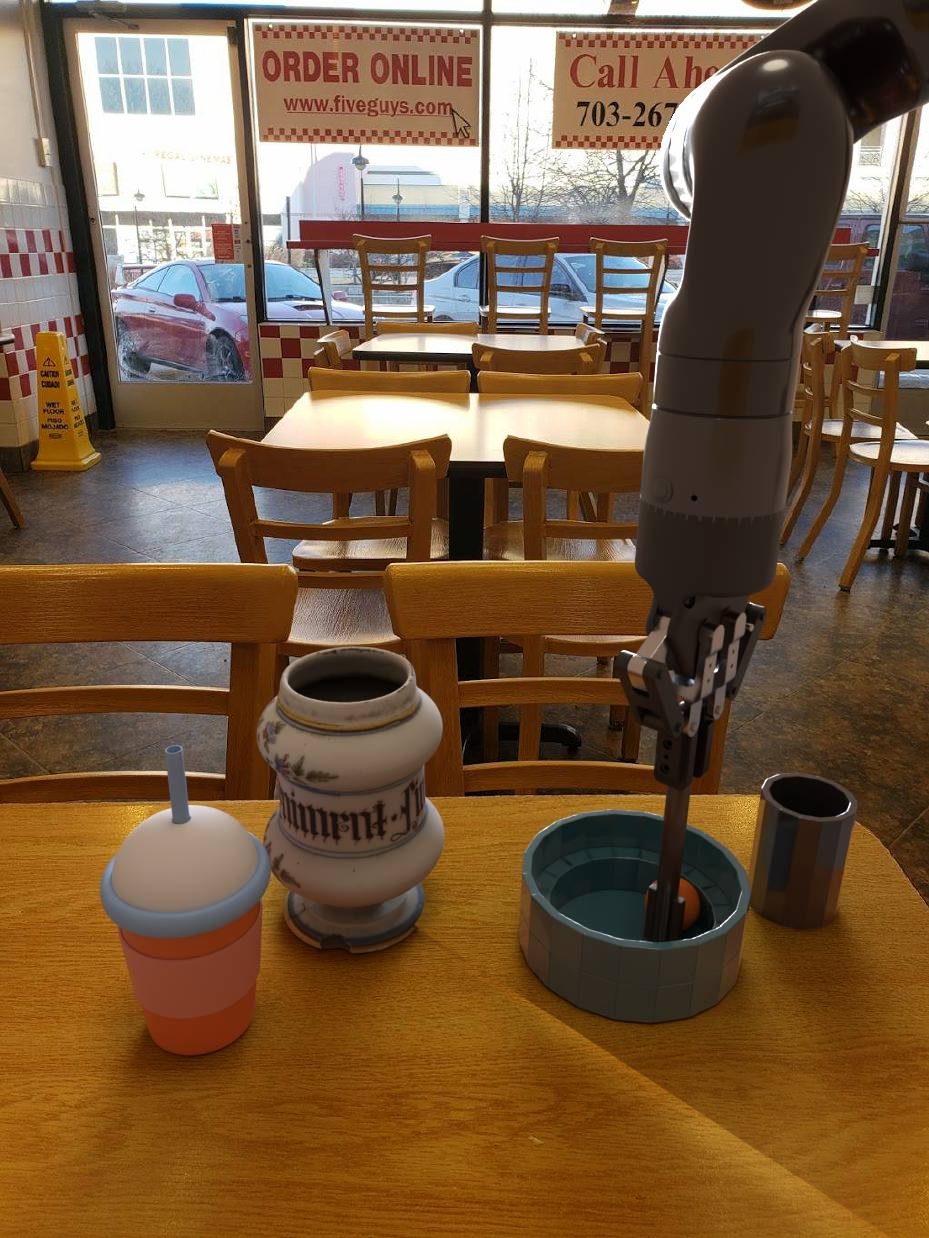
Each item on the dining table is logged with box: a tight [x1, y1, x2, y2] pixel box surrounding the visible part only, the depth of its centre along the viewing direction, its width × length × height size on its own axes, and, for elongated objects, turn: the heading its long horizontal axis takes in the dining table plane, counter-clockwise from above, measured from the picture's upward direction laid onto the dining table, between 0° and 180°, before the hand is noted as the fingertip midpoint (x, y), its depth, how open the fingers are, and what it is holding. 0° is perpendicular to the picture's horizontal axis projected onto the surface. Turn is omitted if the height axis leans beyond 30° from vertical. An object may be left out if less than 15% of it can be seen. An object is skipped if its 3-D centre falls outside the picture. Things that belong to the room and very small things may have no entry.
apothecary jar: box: [256, 646, 445, 955], centre depth 62 cm, size 12×12×18 cm
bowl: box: [518, 808, 751, 1024], centre depth 61 cm, size 14×14×6 cm
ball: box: [645, 878, 700, 931], centre depth 62 cm, size 4×4×4 cm
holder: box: [747, 772, 859, 931], centre depth 64 cm, size 6×6×9 cm
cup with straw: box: [99, 744, 272, 1056], centre depth 52 cm, size 9×9×18 cm
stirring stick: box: [644, 701, 698, 943], centre depth 58 cm, size 1×2×17 cm, turn 48°
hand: (680, 776), depth 56 cm, fingers closed on stirring stick, 1 cm apart
